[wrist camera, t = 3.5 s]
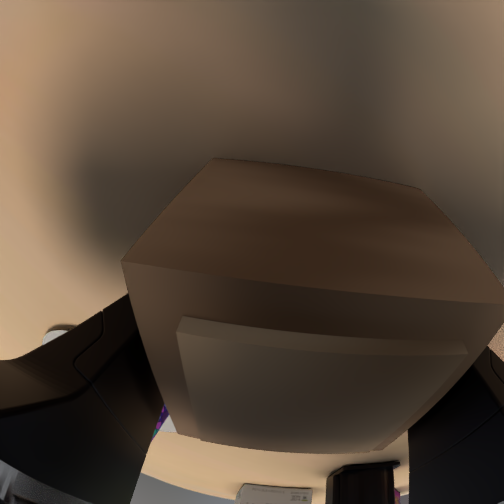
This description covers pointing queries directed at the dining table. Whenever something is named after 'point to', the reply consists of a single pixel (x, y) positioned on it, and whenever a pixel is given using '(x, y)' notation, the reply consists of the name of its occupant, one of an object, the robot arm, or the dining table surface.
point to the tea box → (272, 495)
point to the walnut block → (306, 307)
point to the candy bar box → (397, 497)
